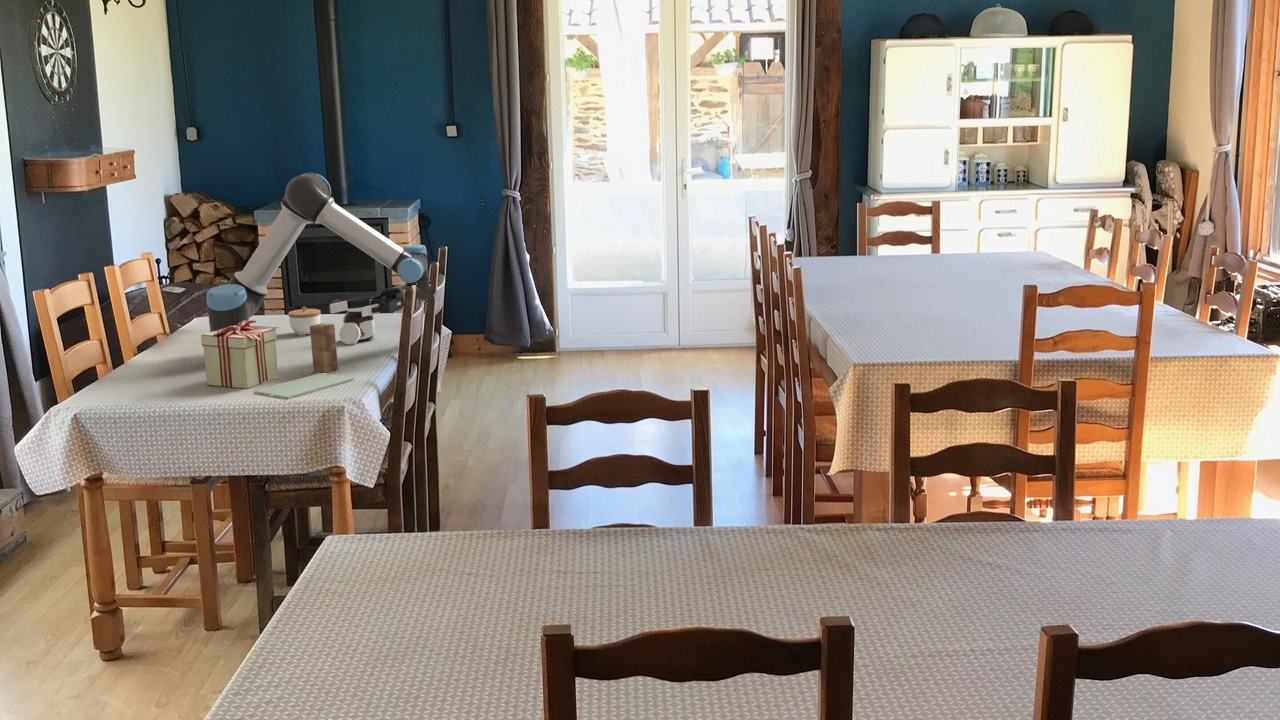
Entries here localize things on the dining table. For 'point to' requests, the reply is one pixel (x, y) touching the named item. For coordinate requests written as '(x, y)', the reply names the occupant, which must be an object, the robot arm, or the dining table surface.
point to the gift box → (240, 355)
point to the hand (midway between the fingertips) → (346, 310)
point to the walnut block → (323, 348)
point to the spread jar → (357, 327)
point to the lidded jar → (304, 320)
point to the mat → (304, 385)
